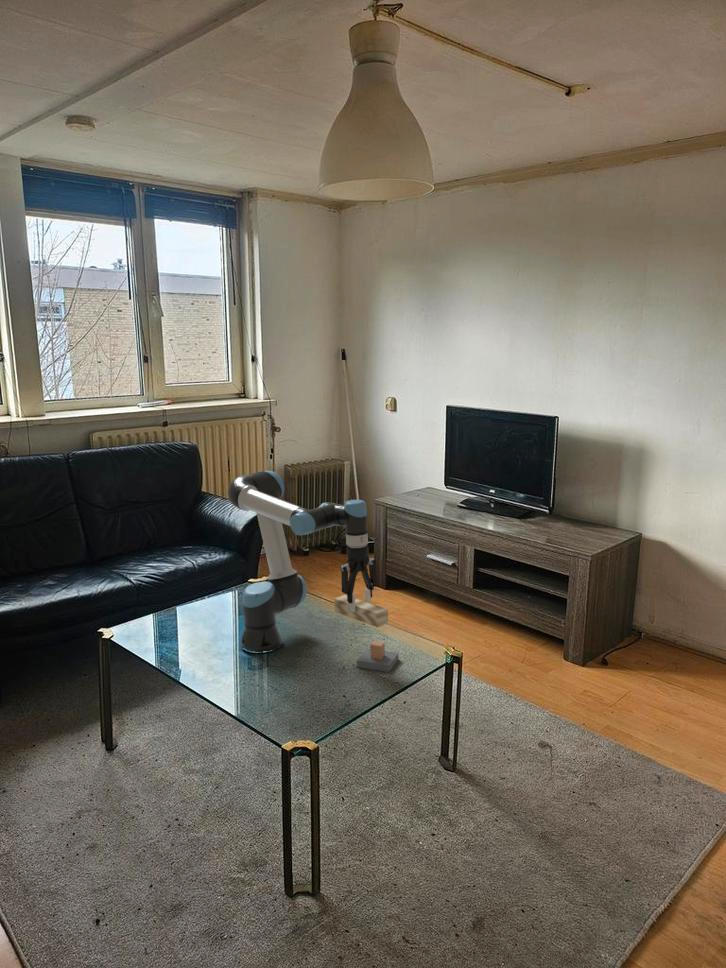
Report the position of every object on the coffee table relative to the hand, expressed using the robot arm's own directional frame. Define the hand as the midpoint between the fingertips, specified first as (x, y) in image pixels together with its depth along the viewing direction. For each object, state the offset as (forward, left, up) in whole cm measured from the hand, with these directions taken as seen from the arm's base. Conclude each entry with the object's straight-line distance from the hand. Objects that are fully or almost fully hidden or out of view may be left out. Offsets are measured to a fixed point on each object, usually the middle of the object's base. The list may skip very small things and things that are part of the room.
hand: (360, 609), depth 240 cm
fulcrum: (+6, 0, -20) cm, 21 cm away
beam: (0, 0, -3) cm, 3 cm away
